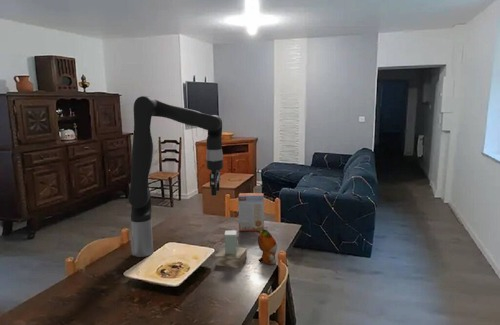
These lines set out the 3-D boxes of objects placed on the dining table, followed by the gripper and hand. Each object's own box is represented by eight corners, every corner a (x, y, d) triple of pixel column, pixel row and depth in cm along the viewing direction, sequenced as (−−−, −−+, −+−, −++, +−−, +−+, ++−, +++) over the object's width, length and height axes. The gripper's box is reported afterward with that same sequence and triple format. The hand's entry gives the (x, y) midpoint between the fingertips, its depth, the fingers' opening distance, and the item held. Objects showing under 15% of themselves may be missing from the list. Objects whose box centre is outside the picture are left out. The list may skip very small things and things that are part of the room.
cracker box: (264, 228, 209) (264, 192, 206) (263, 231, 203) (263, 195, 200) (240, 227, 211) (239, 192, 207) (238, 231, 205) (238, 195, 201)
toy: (275, 266, 161) (275, 234, 158) (255, 265, 163) (255, 233, 160) (278, 256, 172) (278, 225, 169) (260, 254, 173) (259, 224, 171)
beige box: (215, 265, 163) (214, 255, 163) (224, 255, 174) (224, 245, 173) (239, 269, 160) (238, 258, 159) (247, 258, 171) (247, 248, 170)
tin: (225, 254, 164) (224, 234, 162) (225, 249, 169) (225, 230, 167) (236, 253, 164) (236, 234, 162) (236, 249, 169) (236, 230, 167)
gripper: (209, 156, 175) (210, 189, 178) (203, 161, 161) (204, 196, 164) (225, 156, 174) (225, 189, 177) (220, 161, 160) (221, 197, 163)
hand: (215, 192), depth 171 cm, fingers open, 8 cm apart
